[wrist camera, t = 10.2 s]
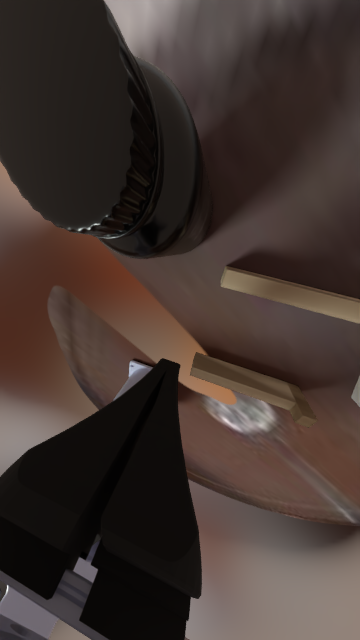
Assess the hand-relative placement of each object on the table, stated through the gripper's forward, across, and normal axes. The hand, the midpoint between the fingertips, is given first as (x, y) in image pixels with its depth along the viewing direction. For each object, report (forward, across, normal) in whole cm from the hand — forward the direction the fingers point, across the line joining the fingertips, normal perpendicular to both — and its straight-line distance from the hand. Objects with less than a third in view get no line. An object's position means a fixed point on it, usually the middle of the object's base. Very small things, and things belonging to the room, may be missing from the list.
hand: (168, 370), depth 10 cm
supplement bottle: (+10, +4, -10) cm, 14 cm away
